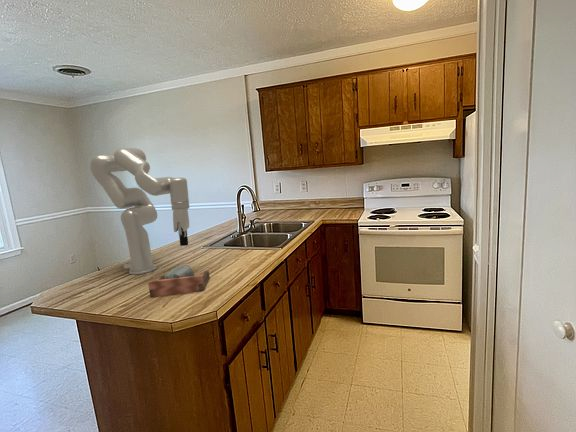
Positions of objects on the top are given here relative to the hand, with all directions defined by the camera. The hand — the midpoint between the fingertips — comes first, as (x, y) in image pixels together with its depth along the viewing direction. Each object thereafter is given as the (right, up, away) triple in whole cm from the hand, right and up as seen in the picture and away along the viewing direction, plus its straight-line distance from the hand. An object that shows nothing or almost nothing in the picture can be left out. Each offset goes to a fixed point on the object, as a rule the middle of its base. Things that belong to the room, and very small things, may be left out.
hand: (184, 245), depth 144 cm
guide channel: (+4, -16, -15) cm, 22 cm away
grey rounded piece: (+3, -16, -14) cm, 21 cm away
